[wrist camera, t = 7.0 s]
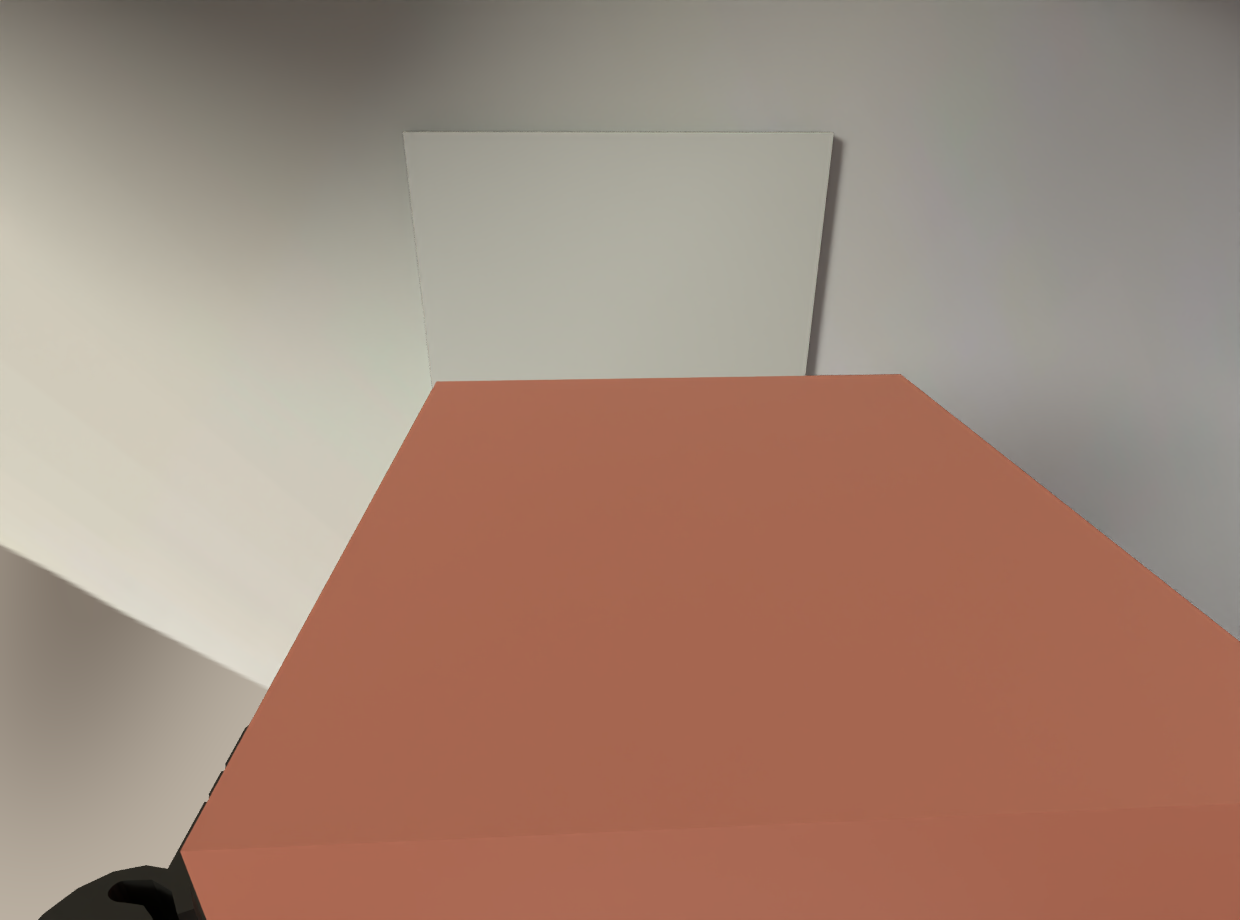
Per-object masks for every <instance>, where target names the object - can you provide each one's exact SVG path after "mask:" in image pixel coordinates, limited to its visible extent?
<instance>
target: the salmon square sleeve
mask: <svg viewBox="0 0 1240 920" xmlns="http://www.w3.org/2000/svg"><path fill="white" fill-rule="evenodd" d="M180 853H181V855H182V858H183V860H184V863H185V865H186V868H187V871H188V873H189V876H190V878H191V881H192V884H193V886H194V889H195V891H196V894H197V896H198V899H199V902H200V904H201V907H202V909H203V912H204V915H205V917H206V920H1240V641H1238V640H1237V639H1236V638H1234V637H1233V636H1232V635H1231V634H1229V633H1228V632H1227V631H1226V630H1224V629H1223V628H1222V627H1221V626H1219V625H1218V624H1217V623H1215V622H1214V621H1213V620H1212V619H1210V618H1209V617H1208V616H1207V615H1205V614H1204V613H1203V612H1201V611H1200V610H1199V609H1198V608H1196V607H1195V606H1194V605H1193V604H1191V603H1190V602H1189V601H1188V600H1186V599H1185V598H1184V597H1182V596H1181V595H1180V594H1179V593H1177V592H1176V591H1175V590H1174V589H1172V588H1171V587H1170V586H1169V585H1167V584H1166V583H1165V582H1163V581H1162V580H1161V579H1160V578H1158V577H1157V576H1156V575H1155V574H1153V573H1152V572H1151V571H1150V570H1148V569H1147V568H1146V567H1144V566H1143V565H1142V564H1141V563H1139V562H1138V561H1137V560H1136V559H1134V558H1133V557H1132V556H1130V555H1129V554H1128V553H1127V552H1125V551H1124V550H1123V549H1122V548H1120V547H1119V546H1118V545H1117V544H1115V543H1114V542H1113V541H1111V540H1110V539H1109V538H1108V537H1106V536H1105V535H1104V534H1103V533H1101V532H1100V531H1099V530H1098V529H1096V528H1095V527H1094V526H1092V525H1091V524H1090V523H1089V522H1087V521H1086V520H1085V519H1084V518H1082V517H1081V516H1080V515H1078V514H1077V513H1076V512H1075V511H1073V510H1072V509H1071V508H1070V507H1068V506H1067V505H1066V504H1065V503H1063V502H1062V501H1061V500H1059V499H1058V498H1057V497H1056V496H1054V495H1053V494H1052V493H1051V492H1049V491H1048V490H1047V489H1046V488H1044V487H1043V486H1042V485H1040V484H1039V483H1038V482H1037V481H1035V480H1034V479H1033V478H1032V477H1030V476H1029V475H1028V474H1027V473H1025V472H1024V471H1023V470H1021V469H1020V468H1019V467H1018V466H1016V465H1015V464H1014V463H1013V462H1011V461H1010V460H1009V459H1007V458H1006V457H1005V456H1004V455H1002V454H1001V453H1000V452H999V451H997V450H996V449H995V448H994V447H992V446H991V445H990V444H988V443H987V442H986V441H985V440H983V439H982V438H981V437H980V436H978V435H977V434H976V433H975V432H973V431H972V430H971V429H969V428H968V427H967V426H966V425H964V424H963V423H962V422H961V421H959V420H958V419H957V418H955V417H954V416H953V415H952V414H950V413H949V412H948V411H947V410H945V409H944V408H943V407H942V406H940V405H939V404H938V403H936V402H935V401H934V400H933V399H931V398H930V397H929V396H928V395H926V394H925V393H924V392H923V391H921V390H920V389H919V388H917V387H916V386H915V385H914V384H912V383H911V382H910V381H909V380H907V379H906V378H905V377H904V376H902V375H901V374H884V375H820V376H755V377H691V378H626V379H562V380H497V381H436V383H435V385H434V387H433V389H432V390H431V392H430V394H429V396H428V398H427V400H426V401H425V403H424V405H423V407H422V409H421V411H420V412H419V414H418V416H417V418H416V420H415V422H414V423H413V425H412V427H411V429H410V431H409V433H408V434H407V436H406V438H405V440H404V442H403V444H402V445H401V447H400V449H399V451H398V453H397V455H396V456H395V458H394V460H393V462H392V464H391V466H390V467H389V469H388V471H387V473H386V475H385V477H384V479H383V480H382V482H381V484H380V486H379V488H378V490H377V491H376V493H375V495H374V497H373V499H372V501H371V502H370V504H369V506H368V508H367V510H366V512H365V513H364V515H363V517H362V519H361V521H360V523H359V524H358V526H357V528H356V530H355V532H354V534H353V535H352V537H351V539H350V541H349V543H348V545H347V546H346V548H345V550H344V552H343V554H342V556H341V557H340V559H339V561H338V563H337V565H336V567H335V568H334V570H333V572H332V574H331V576H330V578H329V579H328V581H327V583H326V585H325V587H324V589H323V590H322V592H321V594H320V596H319V598H318V600H317V601H316V603H315V605H314V607H313V609H312V611H311V612H310V614H309V616H308V618H307V620H306V622H305V623H304V625H303V627H302V629H301V631H300V633H299V634H298V636H297V638H296V640H295V642H294V644H293V645H292V647H291V649H290V651H289V653H288V655H287V656H286V658H285V660H284V662H283V664H282V666H281V667H280V669H279V671H278V673H277V675H276V677H275V678H274V680H273V682H272V684H271V686H270V688H269V689H268V691H267V693H266V695H265V697H264V699H263V700H262V702H261V704H260V706H259V708H258V710H257V712H256V714H255V715H254V717H253V719H252V721H251V722H250V724H249V726H248V728H247V730H246V732H245V733H244V735H243V737H242V739H241V741H240V743H239V744H238V746H237V748H236V750H235V752H234V754H233V755H232V757H231V759H230V761H229V763H228V765H227V766H226V768H225V770H224V772H223V774H222V776H221V777H220V779H219V781H218V783H217V785H216V787H215V788H214V790H213V792H212V794H211V796H210V798H209V800H208V801H207V803H206V805H205V807H204V809H203V811H202V812H201V814H200V816H199V818H198V820H197V822H196V823H195V825H194V827H193V829H192V831H191V833H190V834H189V836H188V838H187V840H186V842H185V844H184V845H183V847H182V849H181V851H180Z"/></svg>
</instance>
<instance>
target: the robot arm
mask: <svg viewBox="0 0 1240 920" xmlns="http://www.w3.org/2000/svg"><path fill="white" fill-rule="evenodd" d="M248 726H249V725H248ZM248 726H247V727H246V728H245V730H244V731H243V733H242V735H241V737H240V738H239V740H238V742H237V744H236V746H235V748H234V749H233V752H232V753H231V755H230V757H229V758H228V760H227V762H226V766H227V765H228V763H229V761H230V759H231V757H232V755H233V754H234V752H235V750H236V748H237V746H238V744H239V743H240V741H241V739H242V737H243V735H244V733H245V732H246V730H247V728H248ZM225 768H226V767H225ZM223 772H224V771H222V772H221V773H220V775H219V777H218V779H217V780H216V782H215V784H214V786H213V788H212V789H211V791H210V793H209V798H210V796H211V794H212V792H213V790H214V788H215V787H216V785H217V783H218V781H219V779H220V777H221V776H222V774H223ZM206 803H207V802H204V804H203V806H202V808H201V809H200V811H199V813H198V815H197V817H196V818H195V820H194V822H193V824H192V826H191V828H190V829H189V831H188V833H187V835H186V837H185V839H184V840H183V842H182V844H181V846H180V848H179V849H178V851H177V853H176V855H175V857H174V859H173V860H172V862H171V864H170V866H169V868H168V869H165V868H159V867H153V866H147V865H145V866H141V867H135V868H130V869H125V870H120V871H115V872H112V873H110V874H108V875H105V876H103V877H101V878H99V879H97V880H95V881H92V882H91V883H88V884H86V885H84V886H82V887H80V888H78V889H76V890H75V891H74V892H72V893H71V894H70V895H68V896H67V897H65V898H64V899H63V900H61V901H60V902H59V903H57V904H56V905H55V906H54V907H52V908H51V909H50V910H48V911H47V912H46V913H44V914H43V915H42V916H41V917H40V918H39V919H38V920H206V917H205V915H204V912H203V909H202V907H201V904H200V902H199V899H198V896H197V894H196V891H195V889H194V886H193V884H192V881H191V878H190V876H189V873H188V871H187V868H186V865H185V863H184V860H183V858H182V855H181V853H180V851H181V849H182V847H183V845H184V844H185V842H186V840H187V838H188V836H189V834H190V833H191V831H192V829H193V827H194V825H195V823H196V822H197V820H198V818H199V816H200V814H201V812H202V811H203V809H204V807H205V805H206Z"/></svg>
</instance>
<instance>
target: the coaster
mask: <svg viewBox="0 0 1240 920" xmlns="http://www.w3.org/2000/svg"><path fill="white" fill-rule="evenodd" d="M833 136H834V132H407V131H406V132H403V141H404V150H405V158H406V167H407V176H408V184H409V193H410V202H411V210H412V219H413V228H414V236H415V245H416V254H417V262H418V271H419V280H420V288H421V297H422V306H423V314H424V323H425V332H426V340H427V349H428V358H429V366H430V375H431V384H432V389H433V387H434V385H435V383H436V381H497V380H562V379H626V378H691V377H755V376H805V374H806V365H807V357H808V348H809V340H810V331H811V323H812V314H813V306H814V297H815V289H816V280H817V272H818V263H819V255H820V246H821V238H822V229H823V221H824V212H825V204H826V195H827V187H828V178H829V170H830V161H831V153H832V144H833Z"/></svg>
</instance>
